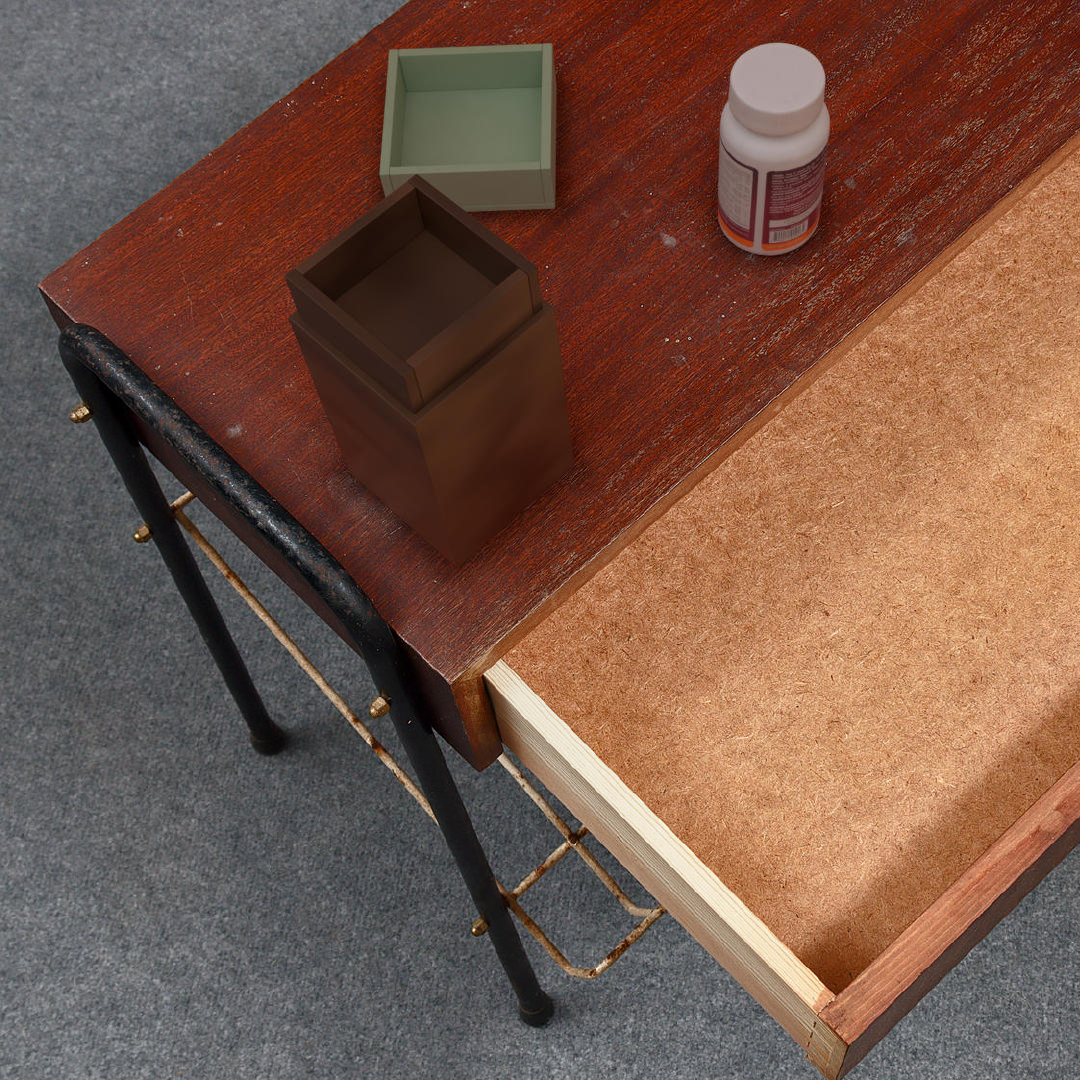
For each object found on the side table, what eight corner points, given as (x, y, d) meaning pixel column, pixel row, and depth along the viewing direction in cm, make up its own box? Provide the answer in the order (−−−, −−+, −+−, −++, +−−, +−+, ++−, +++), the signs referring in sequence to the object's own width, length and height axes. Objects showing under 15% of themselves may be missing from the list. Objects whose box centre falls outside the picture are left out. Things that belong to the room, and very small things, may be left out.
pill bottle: (830, 193, 89) (849, 47, 79) (802, 270, 86) (819, 129, 76) (733, 171, 90) (740, 24, 80) (703, 246, 87) (706, 104, 77)
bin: (389, 214, 89) (379, 174, 86) (398, 91, 94) (389, 49, 91) (555, 209, 89) (550, 168, 86) (556, 85, 94) (552, 42, 90)
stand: (457, 569, 78) (402, 387, 63) (348, 471, 81) (271, 275, 66) (575, 465, 81) (550, 266, 66) (465, 374, 84) (417, 163, 69)
